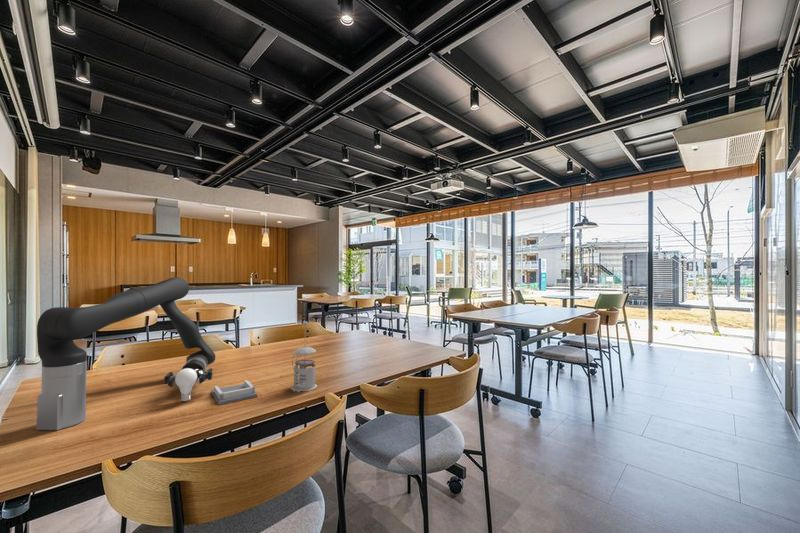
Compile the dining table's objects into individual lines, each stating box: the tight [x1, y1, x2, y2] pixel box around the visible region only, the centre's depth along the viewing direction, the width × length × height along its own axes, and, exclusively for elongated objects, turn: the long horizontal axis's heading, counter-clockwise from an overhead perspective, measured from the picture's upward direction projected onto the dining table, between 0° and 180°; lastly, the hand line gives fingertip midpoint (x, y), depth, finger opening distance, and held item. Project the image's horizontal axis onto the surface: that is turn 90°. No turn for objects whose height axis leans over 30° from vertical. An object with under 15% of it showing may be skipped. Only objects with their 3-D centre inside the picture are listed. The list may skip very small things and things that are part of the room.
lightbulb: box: [174, 368, 197, 403], centre depth 115 cm, size 6×6×11 cm
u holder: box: [210, 379, 258, 406], centre depth 121 cm, size 14×12×3 cm
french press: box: [290, 320, 318, 393], centre depth 129 cm, size 10×12×25 cm
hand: (185, 382), depth 114 cm, fingers open, 8 cm apart
